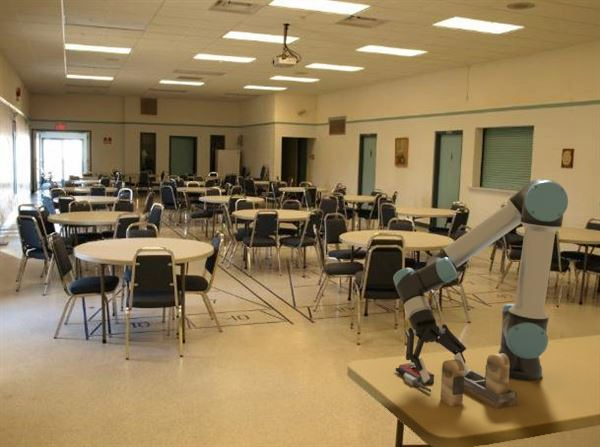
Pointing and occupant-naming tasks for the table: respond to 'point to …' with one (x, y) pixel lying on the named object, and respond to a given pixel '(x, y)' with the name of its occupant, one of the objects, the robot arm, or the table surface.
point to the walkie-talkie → (414, 375)
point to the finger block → (452, 382)
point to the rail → (492, 383)
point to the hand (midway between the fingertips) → (446, 377)
